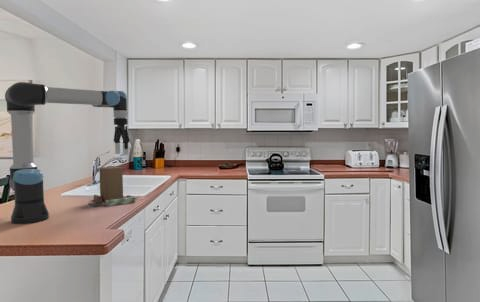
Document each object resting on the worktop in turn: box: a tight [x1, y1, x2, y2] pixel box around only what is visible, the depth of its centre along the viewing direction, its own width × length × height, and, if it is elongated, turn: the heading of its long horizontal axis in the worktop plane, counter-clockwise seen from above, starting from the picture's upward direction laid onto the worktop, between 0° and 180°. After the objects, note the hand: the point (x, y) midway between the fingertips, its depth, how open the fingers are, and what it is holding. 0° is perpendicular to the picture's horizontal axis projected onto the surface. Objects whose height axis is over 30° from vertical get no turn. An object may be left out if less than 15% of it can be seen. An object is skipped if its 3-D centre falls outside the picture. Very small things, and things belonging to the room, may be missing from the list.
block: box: [98, 165, 124, 202], centre depth 205 cm, size 10×10×20 cm
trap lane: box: [88, 194, 138, 208], centre depth 202 cm, size 27×25×3 cm
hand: (121, 154), depth 200 cm, fingers open, 13 cm apart
